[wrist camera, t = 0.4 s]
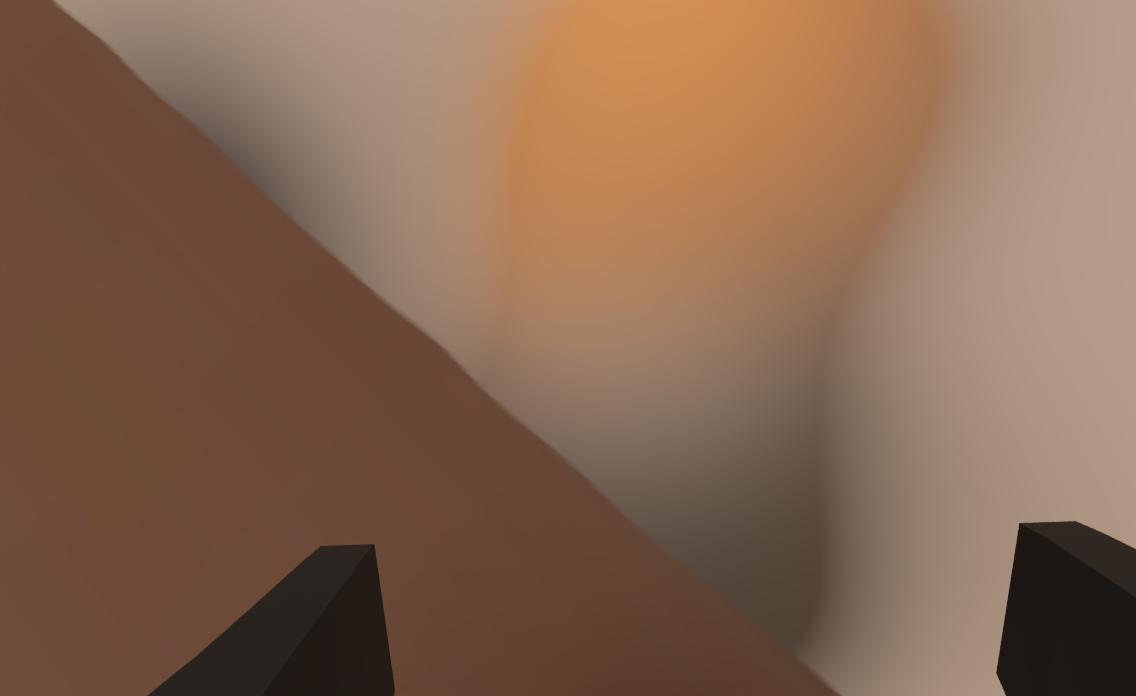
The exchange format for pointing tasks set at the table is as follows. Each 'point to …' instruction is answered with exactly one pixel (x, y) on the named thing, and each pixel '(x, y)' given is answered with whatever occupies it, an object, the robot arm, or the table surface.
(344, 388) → the table surface
